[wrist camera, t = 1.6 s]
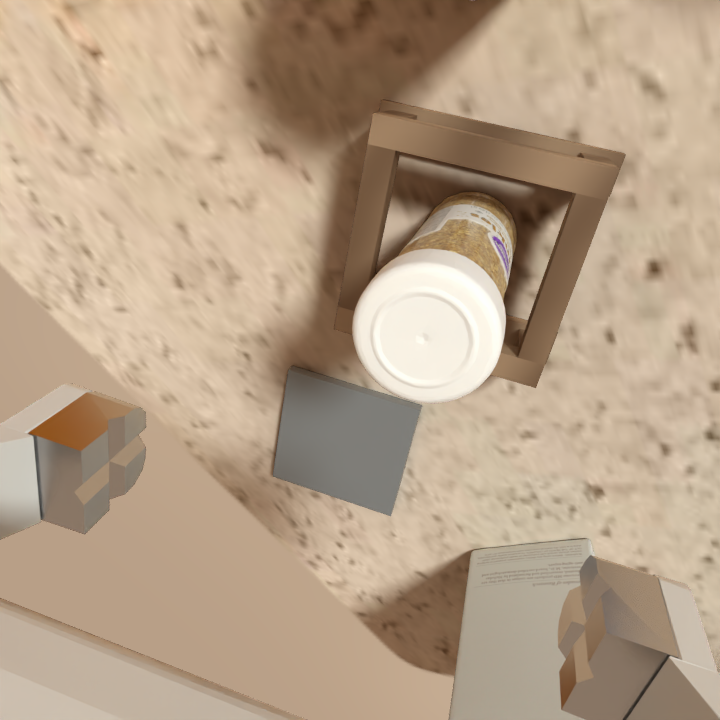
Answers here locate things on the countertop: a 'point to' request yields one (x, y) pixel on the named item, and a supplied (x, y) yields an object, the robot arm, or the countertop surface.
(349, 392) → the slate coaster
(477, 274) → the sprinkles bottle
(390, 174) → the square frame stand
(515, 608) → the supplement box
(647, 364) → the countertop surface
